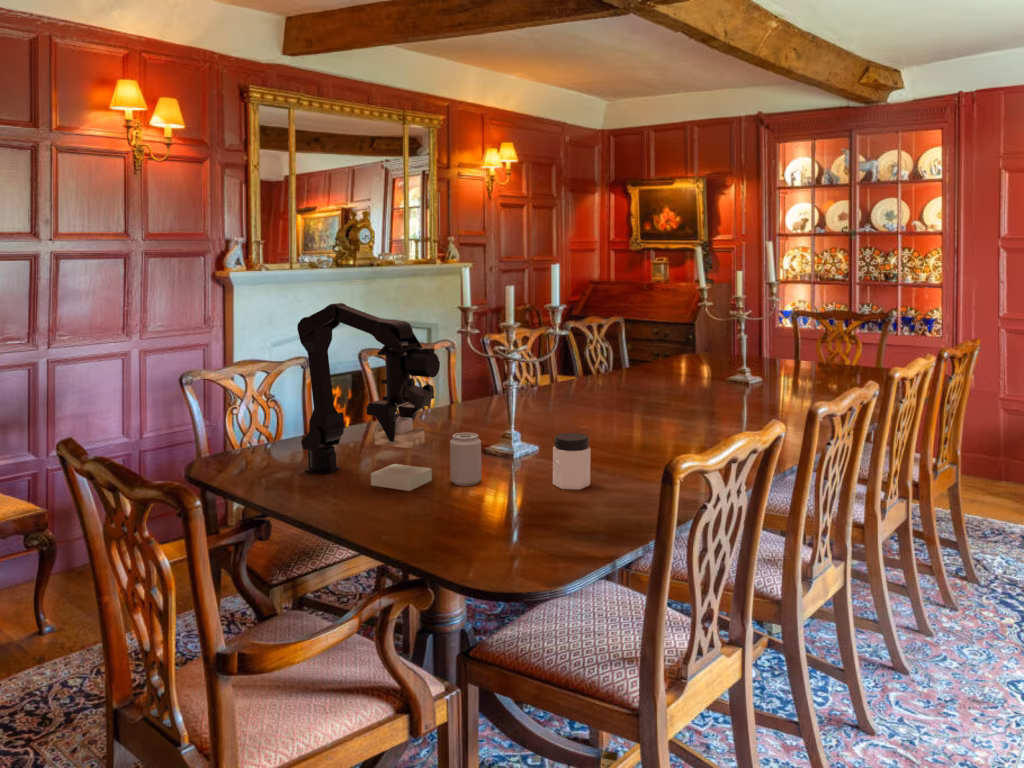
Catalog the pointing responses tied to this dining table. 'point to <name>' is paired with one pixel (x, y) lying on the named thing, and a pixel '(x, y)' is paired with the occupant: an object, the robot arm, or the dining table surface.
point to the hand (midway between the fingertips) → (399, 438)
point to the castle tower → (400, 438)
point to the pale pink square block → (403, 425)
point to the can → (465, 459)
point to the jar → (571, 461)
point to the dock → (401, 477)
